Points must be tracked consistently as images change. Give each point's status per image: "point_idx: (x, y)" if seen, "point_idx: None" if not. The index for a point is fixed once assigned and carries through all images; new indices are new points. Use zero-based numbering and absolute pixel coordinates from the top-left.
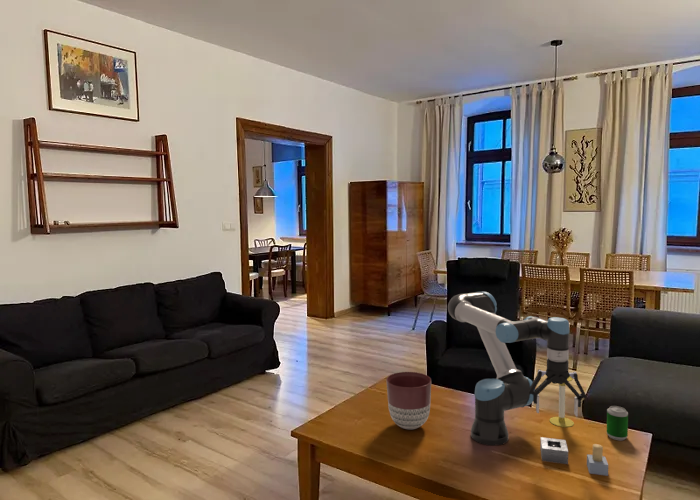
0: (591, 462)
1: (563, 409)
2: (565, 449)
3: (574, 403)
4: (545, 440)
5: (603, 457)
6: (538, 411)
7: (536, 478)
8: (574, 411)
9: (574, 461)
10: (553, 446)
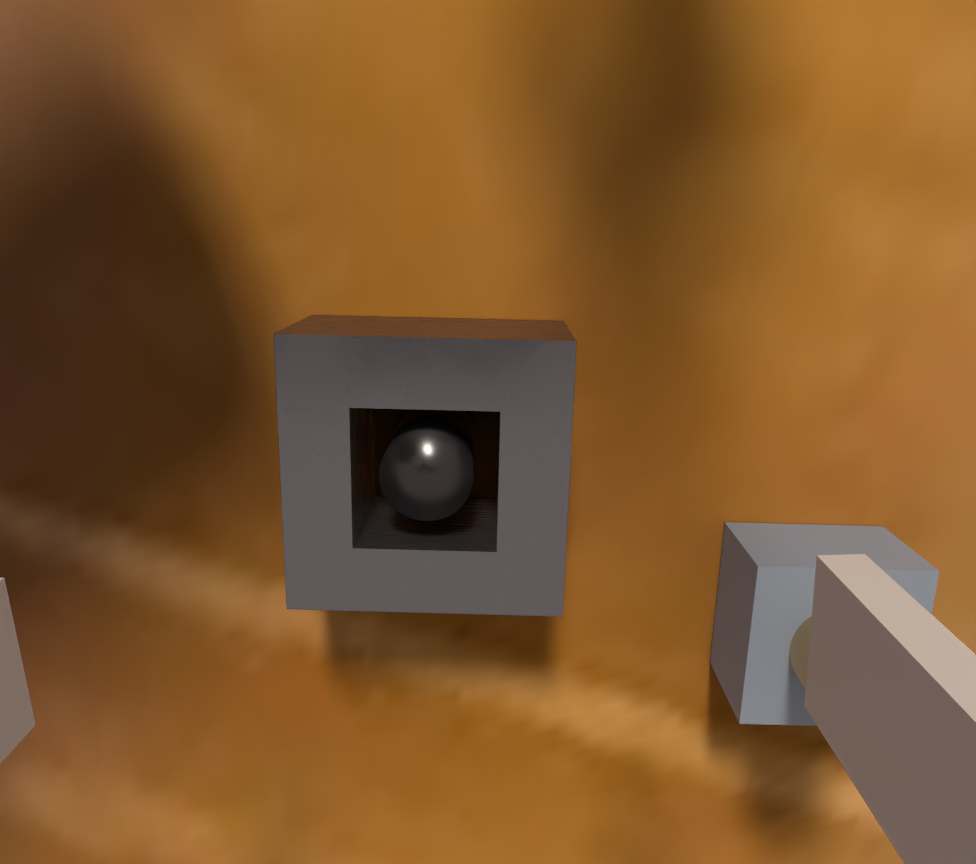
0: (758, 717)
1: None
2: (538, 582)
3: (956, 723)
4: (330, 411)
5: (914, 596)
6: (1, 749)
7: (267, 822)
8: (838, 622)
9: (622, 486)
10: (417, 507)
